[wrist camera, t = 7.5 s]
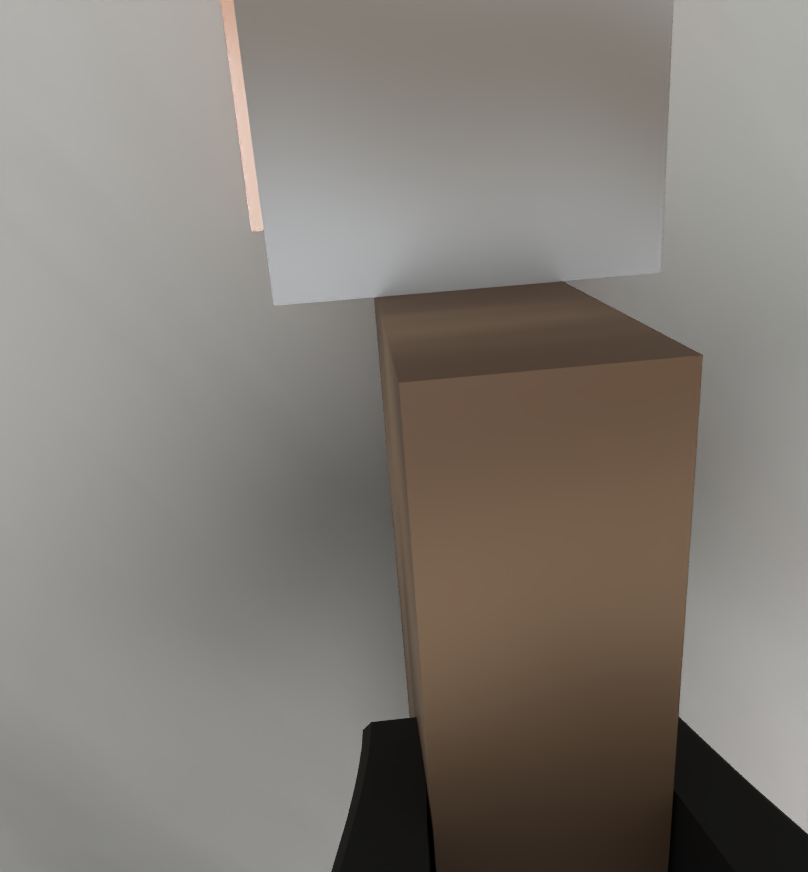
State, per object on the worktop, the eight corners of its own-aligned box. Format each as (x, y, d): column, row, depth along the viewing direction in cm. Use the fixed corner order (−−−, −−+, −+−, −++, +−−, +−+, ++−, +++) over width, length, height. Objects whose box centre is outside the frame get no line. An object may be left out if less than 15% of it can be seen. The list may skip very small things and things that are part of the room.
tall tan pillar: (612, 882, 15) (738, 1215, 10) (359, 913, 15) (368, 1269, 10) (645, -104, 9) (965, -387, 4) (232, -80, 9) (108, -354, 4)
